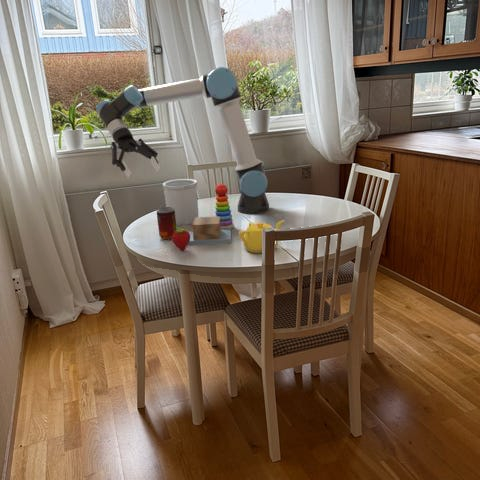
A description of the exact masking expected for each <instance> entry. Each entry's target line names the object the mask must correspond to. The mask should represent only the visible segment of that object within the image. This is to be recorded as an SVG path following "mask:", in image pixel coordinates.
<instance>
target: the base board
mask: <svg viewBox="0 0 480 480" xmlns="http://www.w3.org/2000/svg"><path fill="white" fill-rule="evenodd" d="M187 231H188V230H187ZM188 232H189V233H190V241H189V243H188V245H187V246H193V245H197V246H198V245H215V244H216V245H217V244H231V242H232V229H229V230H221V234H220V239H206V240H194V238H193V230H190V231H188Z"/></svg>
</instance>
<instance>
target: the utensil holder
mask: <svg viewBox="0 0 480 480" xmlns="http://www.w3.org/2000/svg"><path fill="white" fill-rule="evenodd" d="M197 186H198V181H197V180H196V179H193V178H192V179H191V178H177V179H171V180H167V181H164V182H163V183H162V189H163V193H164V199H165V207H171V208H173V209H174V210H175V218H176V226H177V225H178V226H179V225H180V226H182V225H190V224H193V222H194V219H195V217H200V215H199V202H198V200H199V199H198V190H197V189H198V188H197Z"/></svg>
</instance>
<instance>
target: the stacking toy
mask: <svg viewBox="0 0 480 480" xmlns="http://www.w3.org/2000/svg"><path fill="white" fill-rule="evenodd" d="M214 191H215V192H214V193H215V194H216V196H215V200H216V201H215V212H214V213H215V216H214V217H216V216H220V223H221V230H230V229H231V230H232V229H233V228H234V226H235V225H234V223H233V222H234V219H233V214H232V210H231V206H230V202H229V200H228V199H229V196H228V195H227V194H228V192H229V191H228V187H227V186H226V184H224V183H219V184H217V185H216V186H215V189H214Z"/></svg>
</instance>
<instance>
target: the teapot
mask: <svg viewBox="0 0 480 480" xmlns="http://www.w3.org/2000/svg"><path fill="white" fill-rule="evenodd" d="M284 221H285V220H283V219H282V220H279V221H278V222H277V224H276V228H275V230H276V229H280V230H281V226H282V224H283V223H284ZM266 228H273V229H274V227H273V226H272V225H270V224H268V223H264V222H261V221H259V222H258V221H257V222H256V223H255V222H254V221H252V222H249V223H248V226H247V228H246V229H245V230H240V231H238V237H239V239H240V240H241V241H242V244H243V246H244V248H245V249H246V250H247V251H248V252H249V253H251V254H263V253H262V230H263V229H266ZM278 246H279V240H278V241H276V244H275V250H276V249H277V248H278Z"/></svg>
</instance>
